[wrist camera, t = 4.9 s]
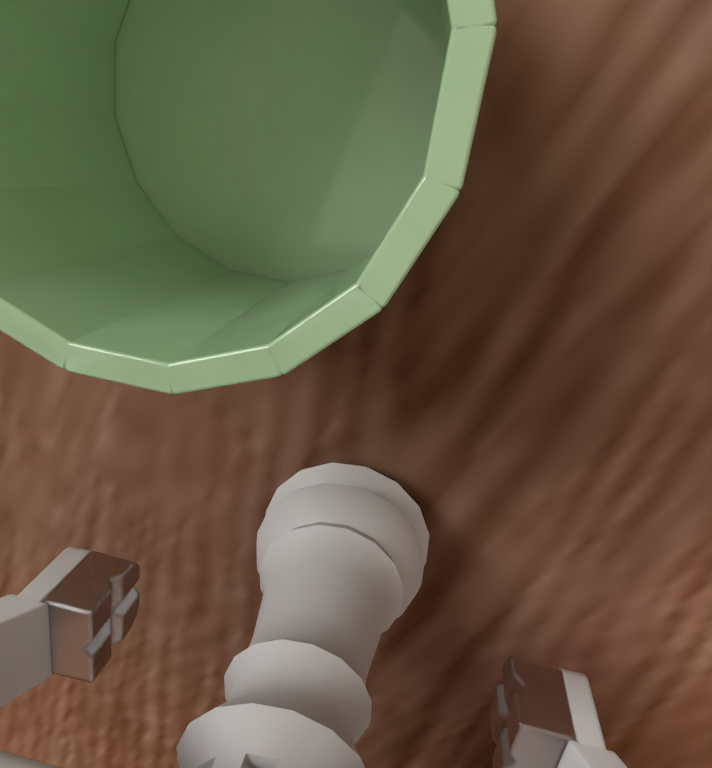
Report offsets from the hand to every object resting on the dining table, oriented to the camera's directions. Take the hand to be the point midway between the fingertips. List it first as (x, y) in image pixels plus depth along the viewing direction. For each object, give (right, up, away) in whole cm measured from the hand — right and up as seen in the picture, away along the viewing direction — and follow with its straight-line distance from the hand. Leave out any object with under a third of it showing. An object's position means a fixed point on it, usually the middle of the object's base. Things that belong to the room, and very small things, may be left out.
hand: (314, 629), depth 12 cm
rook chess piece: (+1, +1, +4) cm, 4 cm away
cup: (-1, +11, 0) cm, 11 cm away
